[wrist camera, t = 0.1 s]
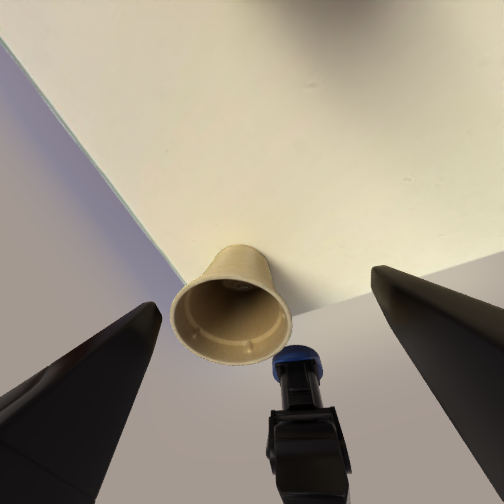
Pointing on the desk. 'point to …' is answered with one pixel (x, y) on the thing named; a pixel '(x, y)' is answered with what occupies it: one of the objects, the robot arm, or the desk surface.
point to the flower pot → (232, 310)
